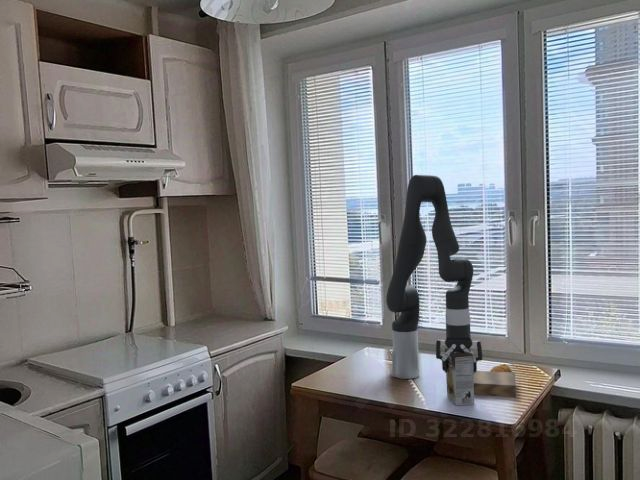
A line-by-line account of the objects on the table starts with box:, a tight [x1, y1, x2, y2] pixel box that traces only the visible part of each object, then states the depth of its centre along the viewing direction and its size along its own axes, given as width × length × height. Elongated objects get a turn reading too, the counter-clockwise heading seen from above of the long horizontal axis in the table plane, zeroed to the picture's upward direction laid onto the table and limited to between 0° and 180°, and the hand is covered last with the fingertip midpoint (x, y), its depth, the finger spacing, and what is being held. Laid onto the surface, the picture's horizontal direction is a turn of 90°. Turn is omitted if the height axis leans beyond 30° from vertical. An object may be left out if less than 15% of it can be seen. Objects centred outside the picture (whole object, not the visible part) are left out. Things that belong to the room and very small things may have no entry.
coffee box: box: [444, 347, 475, 407], centre depth 177 cm, size 9×6×16 cm
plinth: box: [474, 370, 517, 399], centre depth 187 cm, size 14×14×4 cm
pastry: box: [489, 363, 513, 372], centre depth 201 cm, size 9×7×4 cm
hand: (459, 372), depth 177 cm, fingers closed on coffee box, 8 cm apart
